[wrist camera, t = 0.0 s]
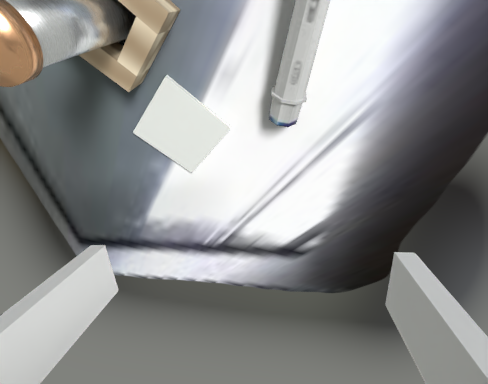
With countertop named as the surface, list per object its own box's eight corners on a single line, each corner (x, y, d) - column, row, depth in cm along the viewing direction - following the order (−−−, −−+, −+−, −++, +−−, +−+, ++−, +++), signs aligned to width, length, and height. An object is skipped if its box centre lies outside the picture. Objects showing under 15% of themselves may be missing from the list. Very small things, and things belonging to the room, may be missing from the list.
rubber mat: (167, 74, 33) (165, 76, 33) (231, 127, 37) (230, 129, 36) (134, 130, 39) (132, 132, 39) (192, 171, 43) (191, 173, 42)
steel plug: (106, -27, 27) (-73, -40, 13) (150, 13, 29) (33, 37, 15) (91, 19, 30) (-69, 47, 16) (132, 52, 32) (20, 102, 18)
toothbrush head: (262, 124, 32) (337, -268, 14) (265, 99, 37) (325, -221, 18) (302, 130, 32) (430, -252, 14) (300, 105, 37) (396, -210, 18)
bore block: (90, -75, 25) (63, -84, 22) (180, 10, 28) (168, 12, 25) (64, 22, 31) (40, 26, 28) (142, 82, 34) (128, 92, 31)
